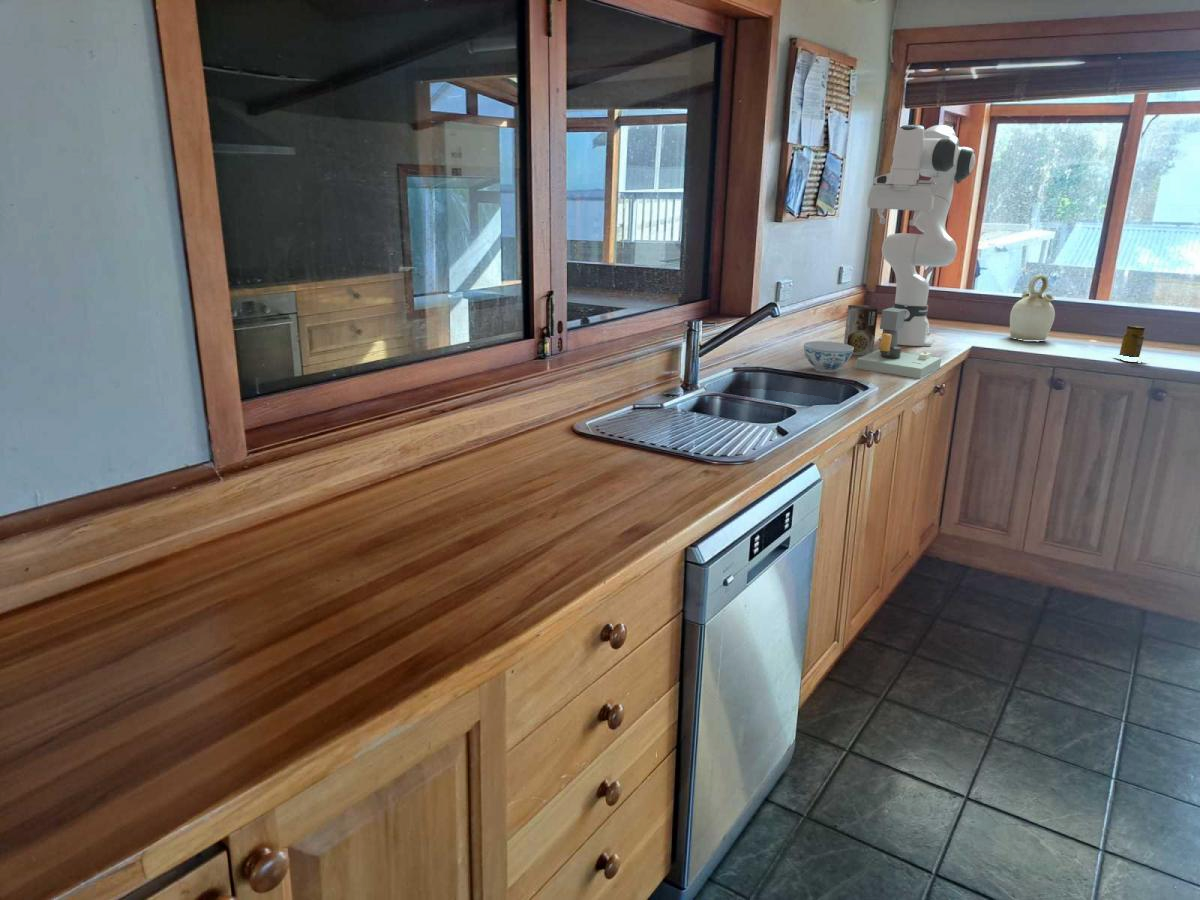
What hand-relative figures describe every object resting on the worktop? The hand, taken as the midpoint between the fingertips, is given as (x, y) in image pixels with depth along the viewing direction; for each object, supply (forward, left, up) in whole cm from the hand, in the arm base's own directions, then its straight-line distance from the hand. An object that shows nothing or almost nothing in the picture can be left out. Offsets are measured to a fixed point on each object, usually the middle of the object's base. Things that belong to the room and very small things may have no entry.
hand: (897, 224), depth 272 cm
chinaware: (+32, -6, -44) cm, 54 cm away
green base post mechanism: (+11, +10, -43) cm, 46 cm away
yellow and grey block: (+14, +7, -40) cm, 43 cm away
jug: (-81, +32, -44) cm, 98 cm away
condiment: (-62, +68, -44) cm, 102 cm away
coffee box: (-2, -8, -44) cm, 44 cm away
